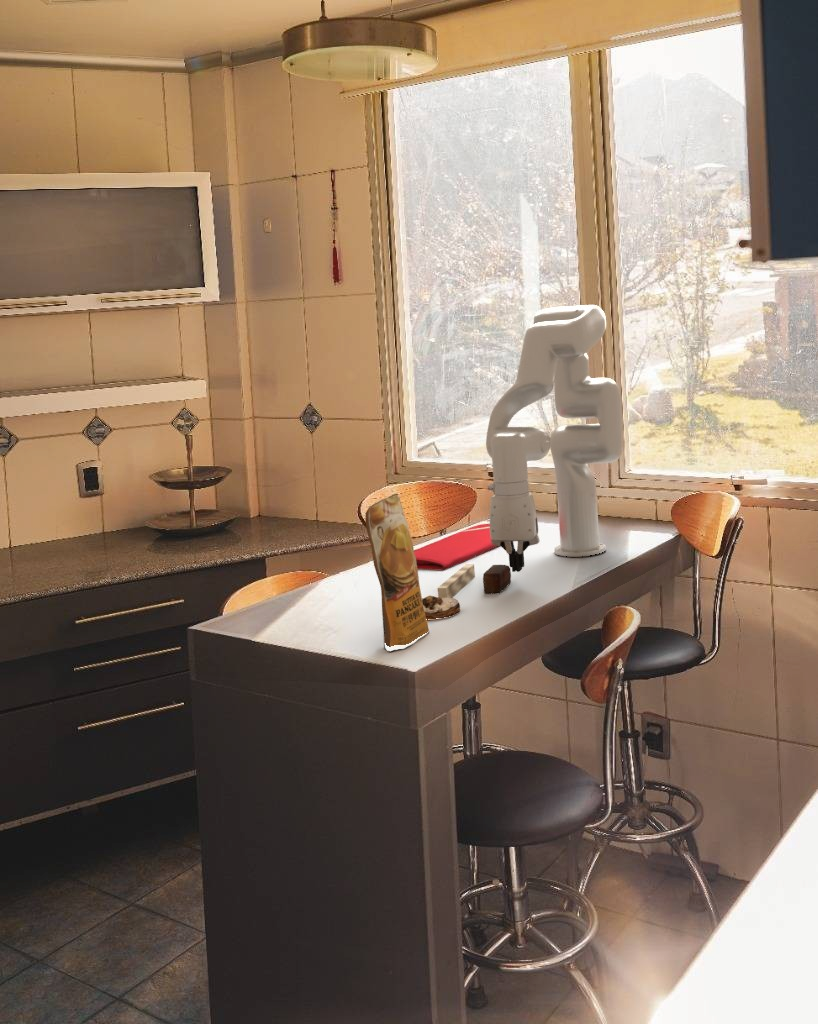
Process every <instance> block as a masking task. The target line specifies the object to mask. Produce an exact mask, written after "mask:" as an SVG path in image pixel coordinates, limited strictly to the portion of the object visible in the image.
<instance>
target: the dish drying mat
mask: <svg viewBox="0 0 818 1024" xmlns="http://www.w3.org/2000/svg"><path fill="white" fill-rule="evenodd" d="M491 540H492V539H491V537H490V523H481V524H478V525H474V526H470V527H468V528H466V529H464V530H461V531H459V532H456V533H454V534H451V535H449V536H447V537H446V536H445V537H443V538H442V539H441V538H440V539H439V540H437V541H436V540H435V541H434V542H431V543H429V544H427V545H424V546H421V547H419V548H416V549H414V553H415V557H416V564H417V569H421V570H422V569H423V570H435V571H445V570H448V569H451V568H452V567H455V566H457V565H459V564H462V563H464V562H467V561H469V560H471V559H473V558H475V556H476V557H477V556H480V555H482V554H485V553H486V552H488V551H491V550H492V549H494V548H496V547H497V546H496V545H493V544H491Z"/></svg>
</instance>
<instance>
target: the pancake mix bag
mask: <svg viewBox="0 0 818 1024" xmlns="http://www.w3.org/2000/svg"><path fill="white" fill-rule="evenodd" d="M364 520H365V528H366V532H367V536H368V539H369V544H370V547H371V548H370V549H371V554H372V561H373V566H374V569H375V572H376V576H377V578H378V579H377V580H378V582H379V585H380V591H381V592H380V594H381V614H382V615H381V617H382V628H383V644H384V643H386V645H387V646H389V647H391V646H394V645H406V644H409V643H411V642H412V641H414V640H415V639H417V638H418V637H420V636H422V635H423V634H425V633H427V632H428V631H429V632H430V630H429V624H428V620H426V616H425V611H424V607H423V603H422V591H421V590H422V589H421V588H420V579H419V578H420V577H419V571H418V568H417V564H416V557H415V553H414V550H415V549H414V544H413V543H414V542H413V540H412V534H411V530H410V527H409V525H408V522H407V519H406V516H405V513H404V509H403V506H402V502H401V500H400V496H399V494H398V493H393V494H392V495H389V496H388V497H386V498H384V499H380V500H379V501H376V502H375V503H373V504H371V505H370V506H369V507H367V510H366V512H365V519H364Z"/></svg>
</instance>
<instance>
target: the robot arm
mask: <svg viewBox="0 0 818 1024" xmlns="http://www.w3.org/2000/svg"><path fill="white" fill-rule="evenodd" d="M606 328H607V320H606V314H605V311H603V309H602V308H601V307H599V306H598V305H595V304H588V305H587V304H585V305H572V306H570V305H569V306H557V307H549V308H544V309H541V310H539V311H537V312H536V314H534V317H533V324H532V325H530V326H529V327H528V328H527V329H526V331H525V334H524V338H523V343H522V349H521V355H520V359H519V365H518V370H517V375H516V376H517V377H516V380H515V383H514V384H513V385H512V386H511V387H510V388H509V389H507V391H506V392H505V393H504V394H503V395H501V397H500V399H499V400H498V401H497V403H496V404H495V406H494V407H493V408H492V411H491V414H490V417H489V421H488V427H487V432H486V438H485V440H486V441H485V447H486V452H487V454H488V455H489V457H490V458H491V461H492V475H493V482H492V483H490V484H487V490H488V491H491V492H493V495H491V496H490V501H489V502H490V504H489V524H490V537H491V539H492V540H491V544H493V545H496V547H501V548H502V549H503V550H504V551H505V552H506V554H507V555H508V561H509V563H508V564H509V565H508V566H509V567H510V568H511V571H512V572H513V573H515V572H518V573H519V572H521V571H522V570H523V568H524V567H525V556H524V552H525V551H526V550H527V549H528V547H531V546H535V545H538V544H539V543H540V537H539V524H538V516H537V508H536V504H535V500H534V496H533V493H532V492H530V487H529V486H530V485H529V475H528V474H529V472H528V471H529V470H528V462H532V461H534V462H535V461H540V460H542V459H544V458H545V457H546V456H547V455H548V453H549V452H550V454H551V456H552V461H553V466H554V473H555V481H556V482H555V483H556V497H557V498H556V499H557V510H558V529H559V540H560V541H559V543H560V545H557V546H556V547H554V554H555V555H557V556H560V557H566V556H567V557H569V558H573V557H574V558H576V557H577V558H578V557H579V558H580V557H581V558H583V557H590V555H592V556H595V554H597V555H600V554H603V553H605V552H606V551H605V550H607V545H606V544H604V543H602V542H600V531H599V516H598V515H599V514H598V501H597V500H598V496H597V483H596V482H597V481H596V479H595V475H594V473H593V472H592V470H591V468H589V467H588V465H589V464H612V463H615V462H617V461H618V460H619V459H620V457H621V455H622V451H623V410H622V408H623V406H622V395H621V392H620V391H621V390H620V388H619V386H618V384H617V382H616V381H615V380H614V379H612V378H608V377H595V378H591V376H590V363H589V356H588V354H587V353H588V352H589V351H591V349H592V348H593V347H594V346H595V345H596V344H597V343H599V341H600V340H601V339H602V338H603V336H604V334H605V331H606ZM553 389H554V390H553ZM552 391H553V392H554V393H553V394H554V406H555V411H556V413H557V415H558V416H559V417H561V418H565V419H597V421H598V423H573V424H570V423H569V424H564V425H563V424H562V425H560V426H558V427H556V428H555V429H554V430H553V431H552V432H551V434H550V435H549V433H548V432H547V430H545V429H544V428H542V427H538V426H509V425H510V422H511V420H512V419H513V417H514V416H515V415H516V414H517V413H519V411H521V410H522V409H525V408H527V407H528V406H529V405H531V404H533V403H536V402H537V401H539V400H542V399H544V398H545V397H547V396H549V395H550V394H551V393H552ZM587 464H588V465H587ZM515 542H517V547H516V548H517V549H516V548H515V544H514V543H515ZM604 551H605V552H604ZM602 552H603V553H602ZM599 553H600V554H599ZM582 556H583V557H582ZM512 572H511V573H512Z"/></svg>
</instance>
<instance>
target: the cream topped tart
mask: <svg viewBox="0 0 818 1024" xmlns="http://www.w3.org/2000/svg"><path fill="white" fill-rule="evenodd" d="M422 603H423V607H424V611H425V616H426V619H427V621H429V620H428V619H436V618H442V619H445V618H444V617H448V618H450V617H449V616H452V617H454V616H455V615H457V613H458V614H459V613H461V605H460V602H459V601H458V599H455V598H454V597H452V598H450V597H438V596H434V595H428V596H426V597H423V598H422ZM453 615H454V616H453ZM436 620H437V619H436Z"/></svg>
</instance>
